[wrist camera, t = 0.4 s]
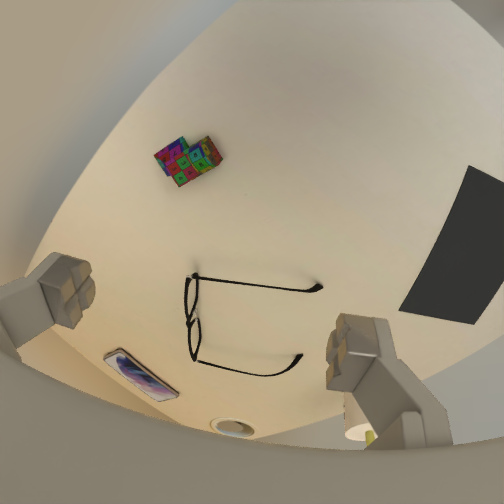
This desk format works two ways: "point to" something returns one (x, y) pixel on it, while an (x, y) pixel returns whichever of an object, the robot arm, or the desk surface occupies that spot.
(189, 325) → the eyeglasses
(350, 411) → the candle
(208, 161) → the block
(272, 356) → the desk surface
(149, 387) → the smartphone
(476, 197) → the mat
